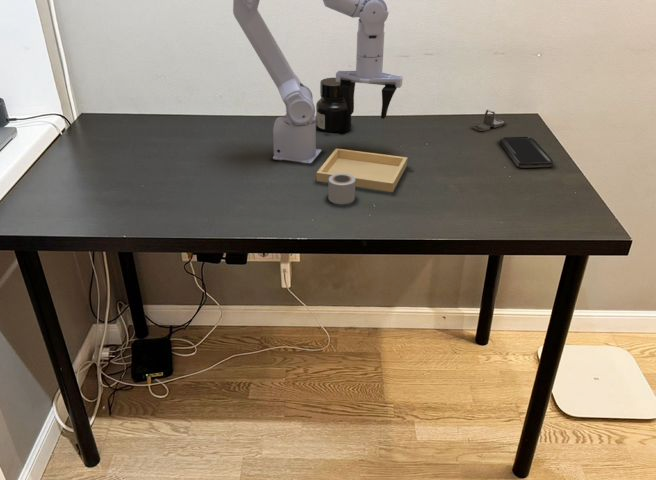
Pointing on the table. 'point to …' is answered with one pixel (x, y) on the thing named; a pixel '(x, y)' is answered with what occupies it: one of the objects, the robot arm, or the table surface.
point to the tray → (365, 168)
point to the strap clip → (489, 122)
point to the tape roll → (341, 188)
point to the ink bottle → (332, 108)
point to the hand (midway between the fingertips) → (367, 115)
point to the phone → (525, 152)
